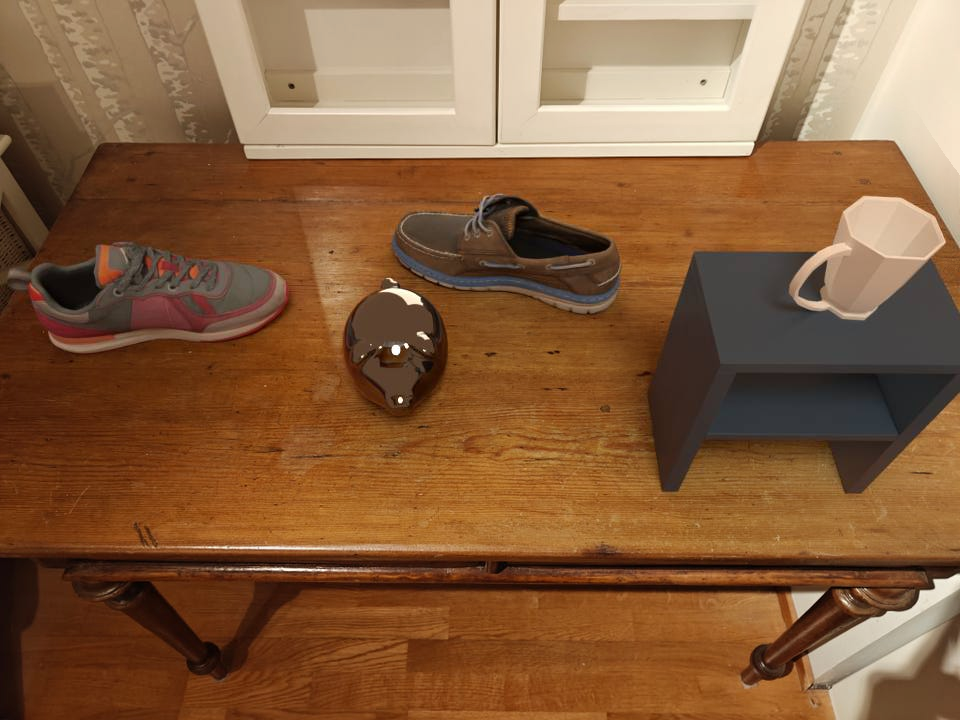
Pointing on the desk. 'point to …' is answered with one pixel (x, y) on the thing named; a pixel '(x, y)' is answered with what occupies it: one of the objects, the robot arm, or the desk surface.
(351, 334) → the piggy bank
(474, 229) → the boat shoe
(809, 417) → the shelf
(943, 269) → the desk surface
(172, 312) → the sneaker
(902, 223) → the cup
